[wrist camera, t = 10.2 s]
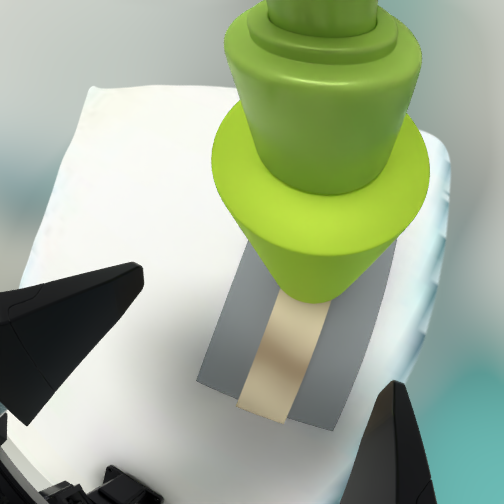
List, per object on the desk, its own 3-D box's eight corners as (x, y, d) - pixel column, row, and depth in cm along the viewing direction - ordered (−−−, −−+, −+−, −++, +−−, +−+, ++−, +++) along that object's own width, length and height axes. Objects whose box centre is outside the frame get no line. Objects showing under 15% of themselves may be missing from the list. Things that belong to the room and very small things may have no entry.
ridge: (285, 417, 18) (283, 424, 17) (240, 400, 19) (235, 406, 18) (364, 173, 22) (367, 162, 20) (324, 161, 23) (325, 150, 21)
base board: (331, 427, 18) (332, 431, 17) (199, 379, 21) (196, 380, 20) (403, 190, 22) (405, 186, 21) (282, 156, 25) (282, 151, 24)
